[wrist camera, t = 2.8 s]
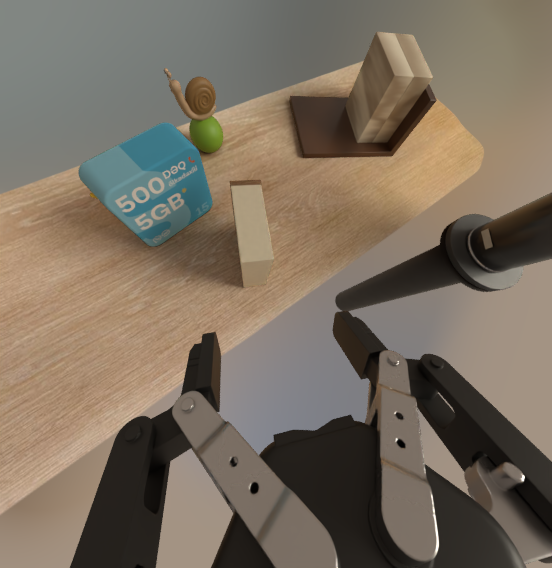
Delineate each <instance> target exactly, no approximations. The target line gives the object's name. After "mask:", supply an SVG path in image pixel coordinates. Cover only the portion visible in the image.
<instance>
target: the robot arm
mask: <svg viewBox="0 0 552 568" xmlns="http://www.w3.org/2000/svg"><path fill="white" fill-rule="evenodd" d="M466 248H467V251H468V254H469V256H470V257H471V259H472V260H473V261H474V263H475V264H476V265H478V266H479V267H480V268H482V269H483V270H485V271H487V272H491V273H500V272H504V271H507V270H510V269H513V268H517V267H521V266H525V265H529V264H533V263H537V262H541V261H545V260H549V259H552V193H550V194H547V195H545V196H543V197H541V198H539V199H537V200H535V201H533V202H531V203H529V204H526V205H524V206H522V207H520V208H518V209H516V210H514V211H512V212H510V213H507V214H506V215H503V216H501V217H499V218H497V219H495V220H493V221H490V222H488V223H486V224H484V225H482V226H479V227H477V228H474V229H472V230H471V231H470V232H469V233H468V235H467V237H466ZM333 334H334V337H335V339H336V340H337V342H338V344H339V345H340V347H341V348H342V350H343V352H344V353H345V355H346V356H347V358H348V359H349V361H350V363H351V364H352V366H353V367H354V369H355V371H356V372H357V373H358V375H359V377H360V378H361V379H365V378H368V379H369V380H370V383H369V393H368V394H369V395H368V407H367V416H366V420H365V423H362V422H358V421H354V420H353V418H352V416H351V415H348V416H344V417H340V418H336V419H333V420H331V421H330V422H328V423H327V424H325V425H324V426H322V427H321V428H319V429H318V430H315V431H310V430H309V431H308V430H291V431H287V432H283V433H279V434H276V435H274V442H272V443H271V444H270V445H268V446H267V447H266V448H265V449H264V450H263V451H262V452H261V454H260V455H258V454H257V453H256V452H255V451H254V449H252V447H251V446H250V445H249V444H248V443H247V442H246V440H245V439H244V438H243V437H242V436H241V435H240V434H239V432H238V431H237V430H236V429H235V428H234V427H233V426H232V425H231V424H230V423H229V422H226V421H224V420H223V419H222V418H221V416H220V415H219V414H218V413H217V412H219V407H220V372H221V353H220V347H219V343H218V339H217V335H216V332H213V333H207V334H203V336H202V342H201V343H199V344H194V346H193V347H192V349H191V350H190V353H189V358H188V363H187V368H186V373H185V378H184V383H183V388H182V393H181V396H180V397H179V398H178V400H177V401H176V402H175V404H174V405H173V406H172V407H171V408H170V409H169V410H167V411H165V412H163V413H161V414H160V415H158V416H156V417H154V418H152V419H150V418H148V417H146V416H140V417H137V418H135V419H132V420H131V421H129V422H128V423H127V424H126V425H125V426H123V428H122V429H121V430H120V431H119V433H118V435H117V436H116V438H115V441H114V444H113V447H112V450H111V453H110V456H109V458H108V461H107V464H106V467H105V470H104V472H103V475H102V478H101V481H100V484H99V487H98V489H97V493H96V495H95V498H94V501H93V504H92V507H91V510H90V512H89V515H88V518H87V521H86V524H85V527H84V529H83V532H82V535H81V538H80V541H79V544H78V547H77V549H76V553H75V555H74V558H73V561H72V563H71V566H70V568H156V561H157V553H158V547H159V540H160V532H161V525H162V518H163V511H164V503H165V495H166V489H167V482H168V475H169V467H170V461H171V460H173V459H174V458H176V457H178V456H179V455H181V454H182V453H184V452H185V451H187V450H189V449H190V448H192V450H193V452H194V453H195V455H196V456H197V458H198V459H199V461H200V462H201V464H202V465H203V467H204V468H205V470H206V471H207V473H208V474H209V476H210V477H211V479H212V481H213V482H214V484H215V486H216V487H217V489H218V490H219V492H220V493H221V495H222V496H223V498H224V499H225V501H226V502H227V504H228V505H229V507H230V509H231V510H232V512H233V516H232V518H231V521H230V523H229V526H228V528H227V531H226V533H225V535H224V538H223V540H222V542H221V545H220V547H219V550H218V552H217V555H216V557H215V560H214V562H213V564H212V567H211V568H526V566H525V564H527V563H531V562H534V561H537V560H538V561H541V562H543V563H552V462H551V461H550V460H549V459H548V458H547V457H546V456H545V455H544V454H543V453H542V452H541V451H540V450H539V449H538V448H537V447H535V445H533V443H531V442H530V441H529V440H528V439H527V438H526V437H525V436H524V435H523V434H522V433H521V432H520V431H519V430H518V429H517V428H516V427H515V426H514V425H513V424H511V423H510V422H509V421H508V420H507V419H506V418H505V417H504V416H503V415H502V414H501V413H500V412H499V411H498V410H497V409H496V408H495V407H494V406H493V405H492V404H491V403H490V402H488V401H487V400H486V399H485V398H484V397H483V396H482V395H481V394H480V393H479V392H478V391H477V390H476V389H475V388H474V387H473V386H472V385H471V384H470V383H469V382H467V381H466V380H465V379H464V378H463V377H462V376H461V375H460V374H459V373H458V372H457V371H456V370H455V369H454V368H453V367H452V366H451V365H450V364H449V363H448V362H446V361H445V360H444V359H442V358H441V357H438V356H436V355H433V354H424V355H423V356H422V358H421V359H420V360H415V359H405V358H404V357H403V356H401V355H400V354H398V353H396V352H394V351H390V350H388V349H387V348H386V347H385V346H384V345H383V344H382V343H381V341H380V340H379V339H378V338H377V337H376V336H375V334H374V333H372V331H371V330H370V329H369V328H368V327H367V325H366V324H365V323H364V322H363V321H362V320H360V319H359V318H357V317H353V316H352V315H351V314H350V313H349V312H348V311H342V312H337V313H336V314H335V318H334V325H333ZM438 392H439V393H440V394H441V395H442V396H443V397H444V399H446V401H447V402H448V403H449V404H450V405H451V407H452V408H453V410H454V412H455V413H454V412H453V411H452V409H451V408H450V407H449V406H448V405H447V404H446V403H445V401H444V400H443V399H442V398H441V396H440V395H439V394H438ZM417 408H418V409H419V410H420V412H421V413H422V414H423V416H424V417H425V419H426V420H427V421H428V423H429V424H430V425H431V427H432V428H433V429H434V431H435V432H436V434H437V435H438V436H439V438H440V439H441V440H442V442H443V443H444V445H445V446H446V447H447V449H448V450H449V451H450V453H451V454H452V455H453V457H454V458H455V459H456V461H457V462H458V464H459V465H460V466H461V468H462V469H463V471H464V472H465V473H464V476H465V480H466V483H467V486H468V492H469V494H470V496H471V497H472V498H471V497H469V496H468V495H467V494H466V493H464V492H463V491H461V490H460V489H459V488H457V487H456V486H455V485H453V484H452V483H450V482H449V481H448V480H446V479H445V478H443V477H442V476H441V475H439V474H438V473H436V472H435V471H434V470H432V469H431V468H430V467H428V466H427V465H425V463H424V457H423V448H422V441H421V432H420V425H419V417H418V409H417Z"/></svg>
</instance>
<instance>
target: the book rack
mask: <svg viewBox="0 0 552 568" xmlns="http://www.w3.org/2000/svg"><path fill="white" fill-rule="evenodd" d="M432 79H433V76H432V74H431V72H430V70H429V67H428V65H427V63H426V62H425V59H424V57H423V55H422V53H421V51H420V49H419V47H418V45H417V43H416V40H415V38H414V36H413V35H405V34H394V33H384V32H376V34H375V36H374V38H373V41H372V43H371V46H370V48H369V50H368V53H367V55H366V57H365V60H364V62H363V65H362V67H361V69H360V72H359V74H358V77H357V79H356V81H355V84H354V86H353V89H352V91H351V93H350V96H349V98H337V97H305V96H290V105H291V110H292V114H293V118H294V122H295V126H296V130H297V134H298V139H299V143H300V147H301V151H302V155H303V158H325V157H370V156H393V155H394V153H395V152H396V151H397V150H398V148H399V147H400V146H401V144H402V143H403V142H404V141H405V139H406V138H407V137H408V136H409V134H410V133H411V132H412V131H413V129H414V128H415V127H416V126H417V124H418V123H419V122H420V121H421V119H422V118H423V117H424V116H425V114H426V113H427V112H428V111H429V109H430V108H431V107H432V106H433V104H434V103H435V102H436V98H435V96H434V94H433V92H432V90H431V87H430V85H429V83H430V82H431V80H432Z"/></svg>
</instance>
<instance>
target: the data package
mask: <svg viewBox="0 0 552 568" xmlns="http://www.w3.org/2000/svg"><path fill="white" fill-rule="evenodd" d="M79 177H80V179H81V181H82V182H83V183H84V184H85V185H86V186H87V187H88V188H89V189H90V191H91V192H92V193H93V194H94V195H95V196H96V197H97V198H98V199H99V200H100V201H101V203H102V204H103V205H104V206H105V207H106V208H107V209H108V210H109V211H110V212H112V213H113V214H114V215H115V216H116V217H117V218H118V219H119V220H120V221H121V222H123V223H124V224H125V225H126V226H127V227H128V228H129V229H130V230H131V231H133V232H134V233H135V234H136V235H137V236H138V237H139V238H140V239H141V240H143V241H144V242H145V243H146V244H147V245H148V246H152V247H154V246H158V245H161V244H162V243H164V242H165V241H167V240H168V239H169V238H171V237H172V236H174V235H175V234H177V233H178V232H179V231H181V230H182V229H184V228H185V227H186V226H188V225H189V224H191V223H192V222H194V221H195V220H196V219H198V218H199V217H201V216H202V215H204V214H205V213H206V212H208V211H209V210H210V208H211V206H212V198H211V194H210V190H209V187H208V183H207V179H206V176H205V172H204V168H203V164H202V161H201V157H200V153H199V151H198V149H197V148H196V147H195V146H194V145H193V144H192V143H191V142H190V141H189V140H188V139H187V138H186V137H185V136H184V135H182V134H181V133H180V132H179V131H178V130H177V129H176V128H175V127H174V126H173V125H172V124H169V123H160V124H158V125H156V126H154V127H152V128H151V129H148V130H146V131H144V132H143V133H141V134H138V135H137V136H135V137H133V138H131V139H129V140H127V141H125V142H123V143H121V144H119V145H117V146H115V147H113V148H111V149H109V150H107V151H105V152H103V153H101V154H99V155H97V156H95V157H93V158H92V159H90V160H88V161H86V162H84V163H83V164H82V165H81V166H80V168H79Z"/></svg>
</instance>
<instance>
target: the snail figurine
mask: <svg viewBox="0 0 552 568" xmlns="http://www.w3.org/2000/svg"><path fill="white" fill-rule="evenodd" d="M164 71H165V74H167V77H169V78H171V73H170V72H169V71H168V69H167V68H165V69H164ZM168 80H169V79H168ZM169 82H170V83H169V87H170V88H171V91H172V92H173V94H174V95H175V97H176V100H177V102H178V104H179V106H180V107H181V109H182V111H183V112H184V113H185V114H186V116H188V117H189V118H191V119H192V121H191V123H190V136H191V139H192V141H193V143H194V144H195V145H196V146H197V147H198V148H199V149H200V150H202V151H204V152H207V153H212V152H215V151H217V150H218V149H219V148H220V147H221V145H222V142H223V132H222V128H221V126H220V124H219V123H218V121H217V120H216V119H215V118H214V117H213V116H212V115H213V114H214V112H215V110H216V105H214V104H215V99H216V96H215V90H214V88H213V86H212V84H211V83H210V82H209V81H208V80H207V79H206V78H203V77H196V78H193V79H192V80H191V81H190V82H189V83H188V85H187V87H186V91H185V98H184V96H183V95H182V92H181V86H180V84H179V82H178V81H176V80H170V81H169Z"/></svg>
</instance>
